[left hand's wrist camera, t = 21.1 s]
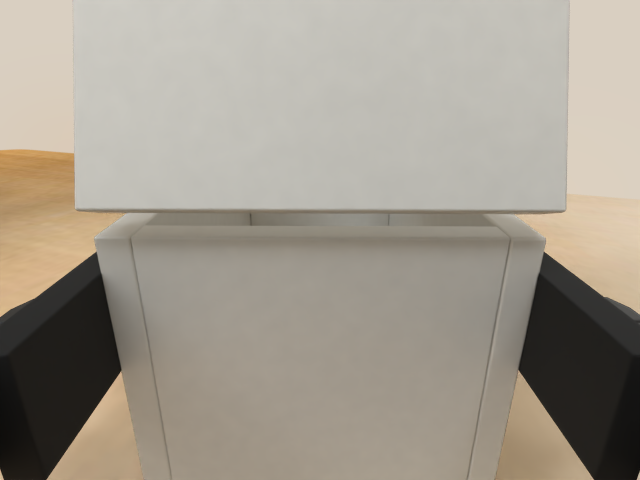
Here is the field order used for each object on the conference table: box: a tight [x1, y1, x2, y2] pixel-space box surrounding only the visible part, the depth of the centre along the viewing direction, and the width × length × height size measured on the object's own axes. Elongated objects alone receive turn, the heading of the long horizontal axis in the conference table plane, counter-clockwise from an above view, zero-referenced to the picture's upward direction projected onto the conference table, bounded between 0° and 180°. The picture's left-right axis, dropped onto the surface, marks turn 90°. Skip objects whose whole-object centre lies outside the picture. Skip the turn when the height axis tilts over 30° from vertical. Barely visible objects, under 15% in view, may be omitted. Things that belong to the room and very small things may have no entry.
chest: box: [94, 213, 546, 480], centre depth 19 cm, size 16×10×9 cm, turn 0°
